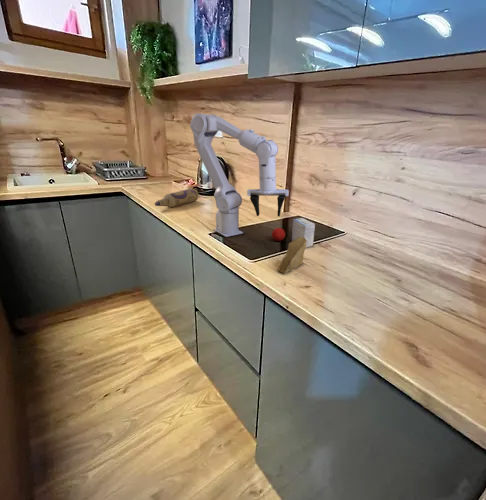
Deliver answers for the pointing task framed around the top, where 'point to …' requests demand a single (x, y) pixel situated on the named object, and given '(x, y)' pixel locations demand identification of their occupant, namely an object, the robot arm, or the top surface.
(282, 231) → the ball
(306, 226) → the medicine box
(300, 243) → the rock
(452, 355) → the top surface
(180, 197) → the decorative bottle
